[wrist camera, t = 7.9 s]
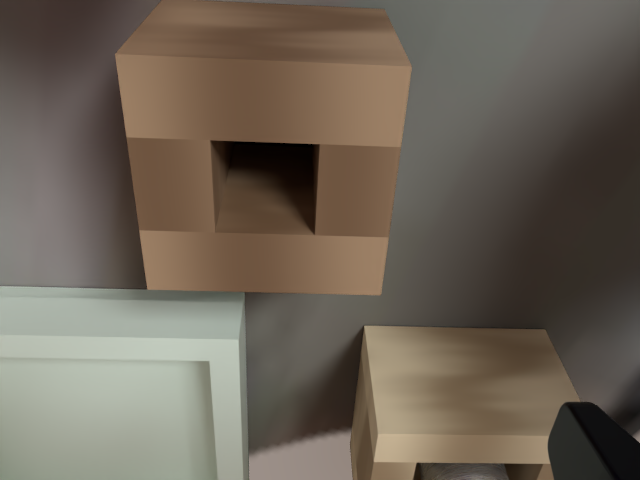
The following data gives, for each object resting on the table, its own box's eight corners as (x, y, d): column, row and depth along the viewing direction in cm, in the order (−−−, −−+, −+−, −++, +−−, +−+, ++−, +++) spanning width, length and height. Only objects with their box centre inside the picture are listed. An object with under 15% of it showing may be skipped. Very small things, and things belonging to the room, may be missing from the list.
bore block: (544, 329, 23) (598, 436, 19) (505, 446, 27) (541, 556, 23) (364, 325, 23) (378, 433, 19) (350, 444, 27) (358, 555, 23)
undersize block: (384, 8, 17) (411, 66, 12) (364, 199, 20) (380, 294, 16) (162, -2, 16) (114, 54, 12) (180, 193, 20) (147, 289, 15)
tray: (244, 291, 22) (238, 339, 20) (249, 491, 28) (245, 542, 26) (-98, 283, 21) (-141, 332, 19) (-11, 489, 28) (-37, 541, 26)
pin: (470, 415, 26) (528, 614, 19) (401, 414, 26) (435, 614, 19) (484, 365, 24) (553, 564, 18) (410, 363, 24) (451, 564, 17)
